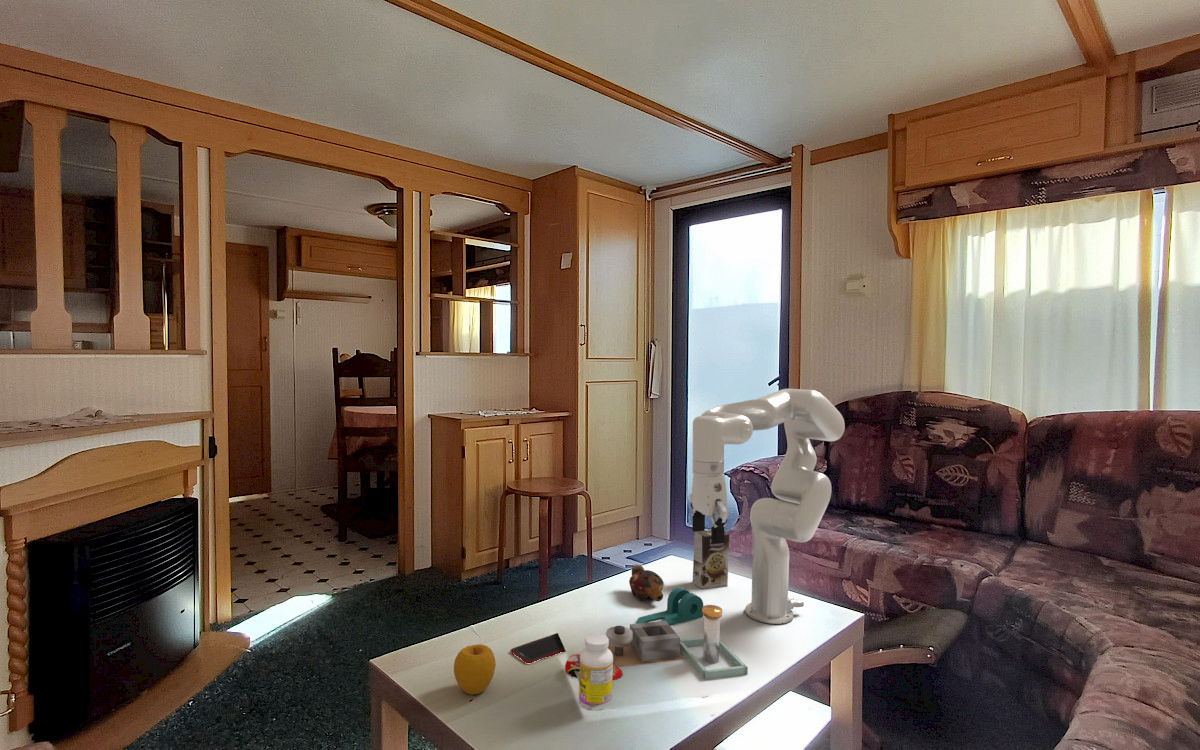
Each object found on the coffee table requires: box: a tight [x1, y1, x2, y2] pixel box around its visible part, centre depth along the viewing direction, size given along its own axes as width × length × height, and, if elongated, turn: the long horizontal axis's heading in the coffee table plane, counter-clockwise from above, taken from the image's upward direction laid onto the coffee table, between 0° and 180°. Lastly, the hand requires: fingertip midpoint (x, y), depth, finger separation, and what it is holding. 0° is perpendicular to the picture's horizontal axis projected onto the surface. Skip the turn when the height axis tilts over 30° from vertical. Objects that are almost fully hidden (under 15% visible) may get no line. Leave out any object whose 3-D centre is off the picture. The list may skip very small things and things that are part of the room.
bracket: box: [636, 586, 704, 627], centre depth 156 cm, size 18×7×8 cm, turn 121°
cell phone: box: [510, 632, 567, 664], centre depth 142 cm, size 8×15×1 cm, turn 130°
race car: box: [564, 653, 624, 682], centre depth 130 cm, size 13×5×4 cm, turn 63°
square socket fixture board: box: [605, 620, 686, 668], centre depth 138 cm, size 17×11×8 cm, turn 105°
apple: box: [453, 643, 497, 696], centre depth 124 cm, size 8×8×9 cm
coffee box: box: [692, 529, 730, 589], centre depth 185 cm, size 9×6×16 cm
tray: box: [680, 636, 749, 680], centre depth 135 cm, size 10×15×3 cm, turn 15°
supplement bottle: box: [578, 633, 614, 711], centre depth 120 cm, size 7×7×13 cm
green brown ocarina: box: [628, 564, 665, 602], centre depth 174 cm, size 10×15×8 cm, turn 31°
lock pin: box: [702, 604, 723, 665], centre depth 135 cm, size 4×4×12 cm
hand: (707, 536), depth 147 cm, fingers open, 9 cm apart
